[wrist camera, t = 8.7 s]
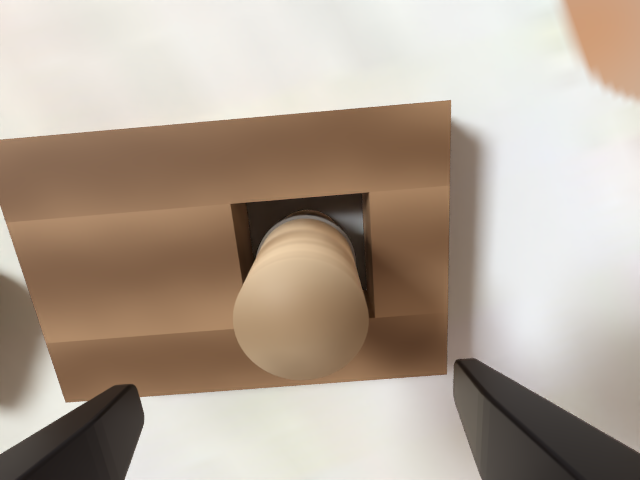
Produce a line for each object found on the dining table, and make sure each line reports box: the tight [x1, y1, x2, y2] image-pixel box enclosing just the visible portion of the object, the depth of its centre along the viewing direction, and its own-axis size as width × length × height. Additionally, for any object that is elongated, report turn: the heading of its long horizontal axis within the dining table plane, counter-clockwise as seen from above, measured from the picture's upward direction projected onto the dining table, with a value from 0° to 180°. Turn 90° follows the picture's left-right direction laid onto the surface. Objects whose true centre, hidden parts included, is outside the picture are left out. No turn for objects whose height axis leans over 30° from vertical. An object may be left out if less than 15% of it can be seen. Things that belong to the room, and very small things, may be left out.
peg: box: [233, 210, 369, 380], centre depth 15 cm, size 4×4×8 cm
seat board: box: [0, 100, 451, 402], centre depth 17 cm, size 12×18×3 cm, turn 95°
